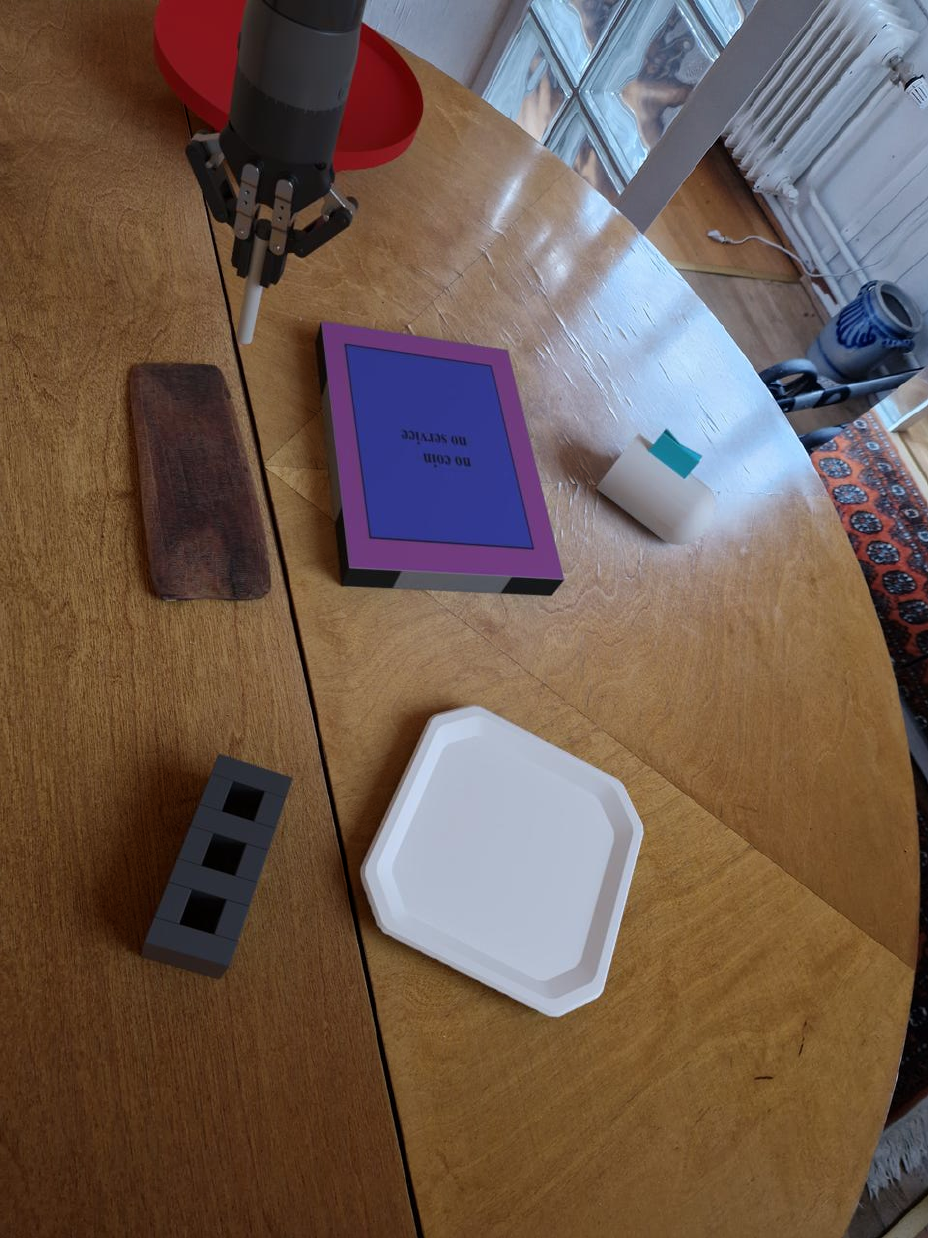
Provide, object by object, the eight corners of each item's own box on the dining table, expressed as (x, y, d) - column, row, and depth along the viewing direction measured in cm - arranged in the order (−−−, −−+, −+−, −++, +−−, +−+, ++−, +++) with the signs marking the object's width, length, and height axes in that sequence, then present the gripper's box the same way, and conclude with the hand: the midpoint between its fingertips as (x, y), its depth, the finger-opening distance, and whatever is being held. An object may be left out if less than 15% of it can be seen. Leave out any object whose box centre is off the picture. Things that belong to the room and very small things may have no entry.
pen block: (220, 980, 60) (229, 967, 56) (140, 957, 59) (144, 942, 55) (281, 800, 68) (293, 777, 64) (211, 777, 67) (219, 753, 63)
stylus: (233, 339, 79) (253, 223, 69) (240, 330, 80) (261, 215, 70) (247, 346, 79) (270, 232, 69) (254, 338, 80) (278, 224, 70)
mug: (739, 498, 89) (643, 425, 89) (681, 565, 93) (590, 495, 94) (747, 472, 99) (661, 406, 99) (694, 533, 103) (612, 470, 104)
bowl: (148, 35, 110) (152, -54, 102) (384, 94, 121) (405, 18, 113) (150, 196, 96) (156, 108, 88) (417, 246, 107) (443, 172, 99)
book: (508, 349, 99) (564, 579, 85) (498, 369, 101) (551, 595, 87) (321, 320, 91) (349, 568, 77) (315, 342, 94) (341, 586, 80)
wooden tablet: (125, 351, 82) (236, 350, 85) (127, 368, 84) (235, 367, 87) (150, 599, 71) (277, 588, 74) (152, 613, 73) (275, 601, 76)
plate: (436, 695, 77) (444, 684, 75) (641, 804, 79) (654, 796, 77) (334, 917, 65) (341, 910, 63) (579, 1040, 67) (593, 1037, 65)
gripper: (402, 90, 63) (345, 284, 77) (216, -1, 61) (191, 216, 75) (376, 141, 59) (320, 338, 73) (174, 46, 56) (156, 267, 70)
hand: (255, 275), depth 74 cm, fingers closed on stylus, 1 cm apart
